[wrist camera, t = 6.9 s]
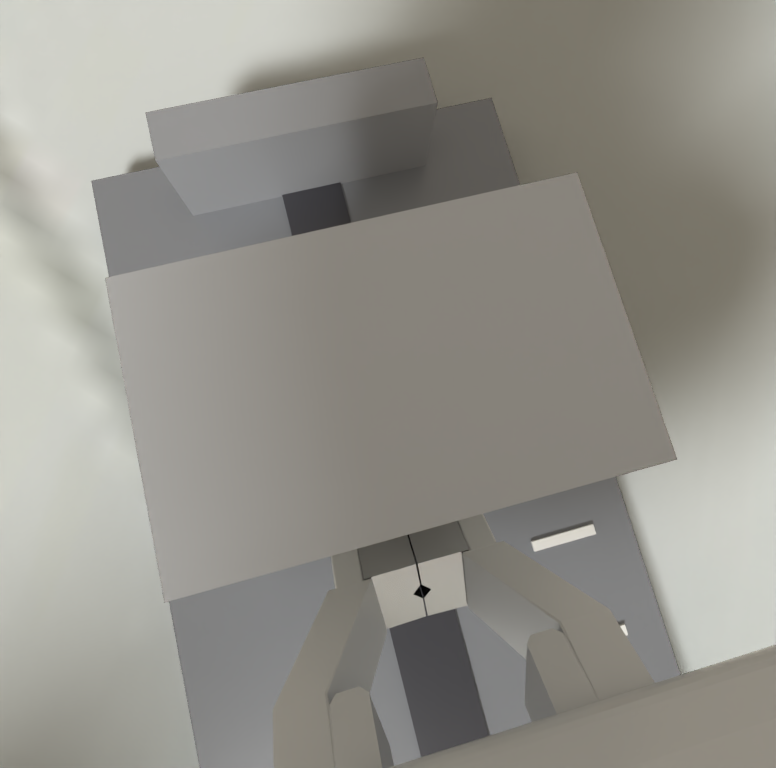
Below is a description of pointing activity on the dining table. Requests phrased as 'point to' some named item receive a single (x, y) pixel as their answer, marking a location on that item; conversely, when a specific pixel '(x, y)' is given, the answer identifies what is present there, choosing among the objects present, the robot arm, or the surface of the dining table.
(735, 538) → the dining table surface
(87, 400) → the dining table surface
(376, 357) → the fader tab
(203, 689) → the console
